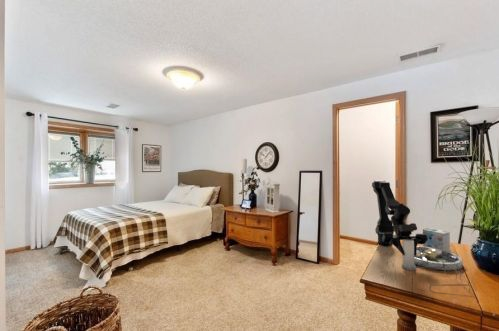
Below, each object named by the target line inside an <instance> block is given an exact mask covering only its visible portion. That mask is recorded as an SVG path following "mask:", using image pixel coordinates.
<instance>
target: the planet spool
mask: <svg viewBox="0 0 499 331" xmlns="http://www.w3.org/2000/svg"><path fill="white" fill-rule="evenodd" d="M401 241H402V242H401V243H402V248H403V250H404V253H405V255H403V254H402V263H401V268H402V269H404V270H407V271H411V268H412V267H417V265H414V241H413V240H410V239H403V240H401ZM416 270H417V268H412V271H416Z"/></svg>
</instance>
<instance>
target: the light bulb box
mask: <svg viewBox="0 0 499 331" xmlns="http://www.w3.org/2000/svg"><path fill="white" fill-rule="evenodd" d="M450 233H451V232H450V231H448V230H447V231H446V230H442V229H437V228H433V227H427V228H426V227H425V228H423V229H422V234H426V235H427V237H428V240H427V241H426V243H425V244H422V246H424V247H433V248H437V249H441V250H446V251H449V252H451V235H450Z"/></svg>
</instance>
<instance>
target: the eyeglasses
mask: <svg viewBox="0 0 499 331" xmlns="http://www.w3.org/2000/svg"><path fill="white" fill-rule="evenodd" d="M448 266H449V265H448ZM450 267H451V266H450ZM412 268H416V269H428V268H444V271H443V272H444V273H445V274H447V271H445V266H444V267H420V266H416V267H412ZM412 268H411V270H410V272H413V270H412ZM451 268H452V267H451ZM453 269H454V268H453ZM454 270H456V269H454ZM458 275H459V279H460V282H461V285H462V286H464V287H465V284H464V283H463V281H462V276H463V277H465V279H466V280H467V286H468V292H470V287H471V286H470V283H469V280H468V278H467V277H466V275H464V274H463V273H461V272H460V270H457V271H455V276H456V277H455V280H457V278H458ZM432 286H435V287H436V286H437V287H438V286H439V287H440V286H442V287H443V286H444V287H445V286H451V287H452V286H459V284H430V285H429V286H428V288H429V290H431V289H432V288H431V287H432Z"/></svg>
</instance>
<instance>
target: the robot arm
mask: <svg viewBox="0 0 499 331" xmlns="http://www.w3.org/2000/svg"><path fill="white" fill-rule="evenodd" d="M371 187H372V190H373V192H374V193H375V194H376V198H377V200H376V201H377V205H378V206H377V208H378V214H379V218H378V220H377V223H376V224H377V225H376V227H375V234H377V242H376V244H377V245H380V246H384V247H390V246H392V245H393V246H394V247H395V248H396V249H397V250H398V252H400V253H401V254H402V256H403V255H405V253H404V250H403V244H402V242H401V241H402V240H403V239H410V240H413V241H414V255H415V256H416V251H417V246H419V245H423V244H425V243H426V241H427V240H428V237H427V235H426V234H423V233H416V234H415V235H413V236H412V234H413V232H415V231H417V230H418V227H417V226H418V225H417V224H416V223H415V222H414V223H413V222H411V223H410V224H406V220H407V218H408V217H409V215H410V213H411V209H410V208H409V207H408V206H407V205H405V204H404V203H401V202H399V201H398V200H396V198H395V196H394V193H393V190H392V188H391V183H390V182H389V181H386V180H374V181H373V182H372V183H371ZM389 216H390V218H389ZM394 232H395V234H394Z"/></svg>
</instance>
